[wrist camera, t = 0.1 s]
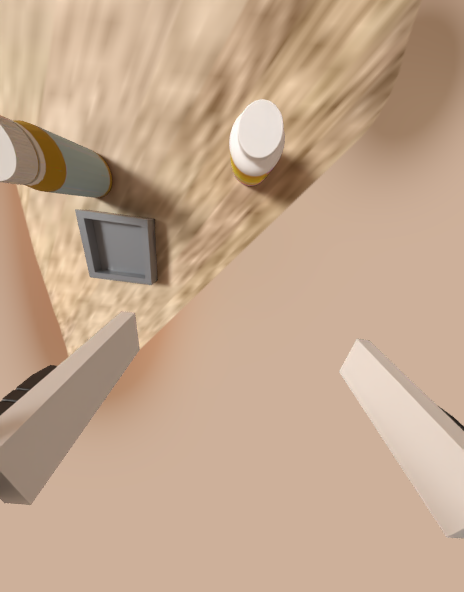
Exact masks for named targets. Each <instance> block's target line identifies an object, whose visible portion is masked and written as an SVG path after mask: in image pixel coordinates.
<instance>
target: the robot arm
mask: <svg viewBox="0 0 464 592" xmlns="http://www.w3.org/2000/svg"><path fill="white" fill-rule="evenodd" d="M139 350H140V349H139V341H138V333H137V325H136V317H135V313H132V312H124V311H121V312H120V313H119V314H118V315H116V316H115V317H114V318H113V319H112V320H111V321H109V322H108V323H107V324H106V325H105V326H104V327H103V328H101V329H100V330H99V331H98V332H97V333H96V334H94V335H93V336H92V337H91V338H90V339H89V340H87V341H86V342H85V343H84V344H83V345H82V346H80V347H79V348H78V349H77V350H76V351H75V352H74V353H72V354H71V355H70V356H69V357H68V358H67V359H65V360H64V361H63V362H62V363H61V364H60V365H58V366H54V365H50V366H48V367H46V368H44V369H42V370H41V371H39V372H37V373H35V374H33V375H32V376H30V377H29V378H28V379H27V380H25V381H24V382H23V383H22V384H21V385H19V386H18V387H17V388H16V390H13V391H12V392H11V393H9V394H8V395H7V396H5V397H4V398H3V400H2V401H1V402H0V499H1V500H2V501H3V502H4V503H14V504H26V505H31V504H32V503H33V501H34V500H35V498H36V497H37V495H38V494H39V493H40V491H41V490H42V488H43V487H44V485H45V484H46V483H47V481H48V480H49V478H50V477H51V475H52V474H53V473H54V471H55V470H56V468H57V467H58V465H59V464H60V463H61V461H62V460H63V458H64V457H65V455H66V454H67V453H68V451H69V450H70V448H71V447H72V445H73V444H74V443H75V441H76V440H77V438H78V437H79V435H80V434H81V433H82V431H83V430H84V428H85V427H86V426H87V424H88V423H89V421H90V420H91V418H92V417H93V416H94V414H95V412H96V411H97V410H98V408H99V407H100V406H101V404H102V403H103V401H104V400H105V398H106V397H107V395H108V394H109V393H110V391H111V390H112V388H113V387H114V385H115V384H116V383H117V381H118V380H119V378H120V377H121V376H122V374H123V373H124V371H125V370H126V368H127V367H128V365H129V364H130V363H131V361H132V360H133V358H134V357H135V356H136V354H137V353H138V351H139ZM339 372H340V374H341V375H342V377H343V378H344V380H345V381H346V383H347V385H348V386H349V388H350V389H351V391H352V392H353V394H354V395H355V397H356V398H357V400H358V401H359V403H360V405H361V406H362V408H363V409H364V411H365V412H366V414H367V415H368V417H369V418H370V420H371V421H372V423H373V425H374V426H375V428H376V429H377V431H378V432H379V434H380V435H381V437H382V439H383V440H384V442H385V443H386V445H387V446H388V448H389V449H390V451H391V452H392V454H393V455H394V457H395V459H396V460H397V462H398V463H399V464H400V466H401V468H402V469H403V471H404V472H405V474H406V475H407V477H408V479H409V480H410V481H411V483H412V485H413V486H414V488H415V489H416V491H417V492H418V494H419V496H420V497H421V499H422V500H423V502H424V503H425V505H426V506H427V508H428V509H429V511H430V512H431V514H432V515H433V517H434V519H435V520H436V522H437V523H438V525H439V526H440V528H441V530H442V531H443V532H444V534H445V535H446V537H451V538H464V426H463V425H461V424H460V423H459V422H458V421H457V420H456V419H455V418H454V417H453V416H451V415H450V414H448V413H447V412H446V411H444V410H443V409H442V408H440V407H439V406H437V405H436V404H435V403H434V402H433V401H432V400H431V399H430V398H429V397H428V396H427V395H426V394H425V393H424V392H423V391H422V390H421V389H419V388H418V387H417V386H416V385H415V384H414V383H413V382H412V381H411V380H410V379H409V378H408V377H407V376H406V375H405V374H404V373H403V372H402V371H401V370H400V369H399V368H397V366H395V365H394V364H393V363H392V362H391V361H390V360H389V359H388V358H387V357H386V356H385V355H384V354H383V353H382V352H381V351H380V350H379V349H378V348H377V347H376V346H375V345H374V344H373V343H372V342H370V341H369V340H363V339H357V340H356V341H355V343H354V345H353V347H352V349H351V351H350V353H349V354H348V356H347V358H346V360H345V362H344V364H343V366H342V367H341V369H340V371H339Z"/></svg>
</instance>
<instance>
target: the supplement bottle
mask: <svg viewBox="0 0 464 592" xmlns="http://www.w3.org/2000/svg"><path fill="white" fill-rule="evenodd" d="M284 142H285V135H284V128H283V119H282V115H281V113H280V111H279V109H278V108H277V106H276V105H275V104H274V103H272V102H271V101H268V100H262V99H261V100H257V101H254V102H252V103H251V104H249V105H248V106H247V107H246V109H245V110H244V111H243V112H242V113H241V114H240V115H239V117H238V118H237V119H236V121H235V123H234V125H233V127H232V130H231V134H230V155H231V166H232V171H233V173H234V176H235V177H236V179H237V180H238V181H239V182H240V183H242V184H244V185H247V186H254V185H257V184H259V183H261V182H262V181H263V180H264V179H265V178H266V177H267V176H268V174H269V173H270V172H271V170H272V169H273V168H274V166H275V165H276V164H277V162H278V161H279V159H280V157H281V154H282V152H283V148H284Z"/></svg>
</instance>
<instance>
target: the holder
mask: <svg viewBox="0 0 464 592" xmlns="http://www.w3.org/2000/svg"><path fill="white" fill-rule="evenodd" d="M75 211H76V216H77V220H78V225H79V229H80V234H81V239H82V243H83V248H84V252H85V257H86V261H87V266H88V270H89V275H90V277H93V278H100V279H108V280H116V281H124V282H132V283H140V284H148V285H152V284H153V283H155V282H156V281H157V280H158V279H157V260H156V241H155V222H154V219H150V218H143V217H136V216H128V215H121V214H114V213H107V212H99V211H92V210H75Z"/></svg>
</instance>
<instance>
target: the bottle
mask: <svg viewBox="0 0 464 592" xmlns="http://www.w3.org/2000/svg"><path fill="white" fill-rule="evenodd" d="M0 182H4V183H11V184H20V185H21V184H22V185H26V186H28V187H31V188H33V189H36V190H39V191H44V192H52V193H60V194H69V195H77V196H86V197H96V198H97V197H103V196H105V195H107V194H108V192H109V191H110V189H111V186H112V176H111V172H110V169H109V167H108V165H107V163H106V162H105V161H104V160H103V158H102V157H101V156H100V155H98V154H97V153H95V152H94V151H92V150H90V149H87V148H85V147H83V146H81V145H78V144H76V143H74V142H72V141H69V140H67V139H65V138H62V137H60V136H58V135H56V134H53V133H51V132H49V131H47V130H44V129H42V128H40V127H37V126H35V125H32V124H30V123H27V122H24V121H12V120H10V119H8V118H5V117H3V116H1V115H0Z"/></svg>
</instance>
